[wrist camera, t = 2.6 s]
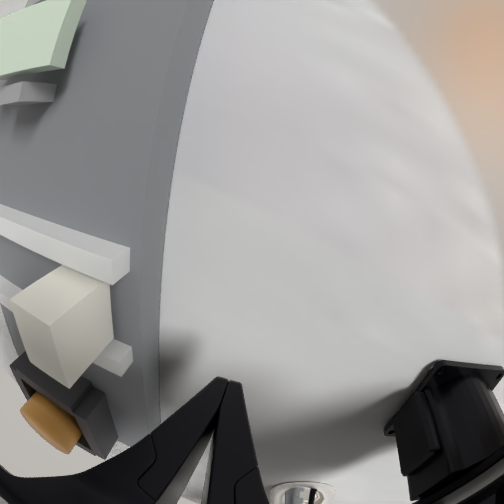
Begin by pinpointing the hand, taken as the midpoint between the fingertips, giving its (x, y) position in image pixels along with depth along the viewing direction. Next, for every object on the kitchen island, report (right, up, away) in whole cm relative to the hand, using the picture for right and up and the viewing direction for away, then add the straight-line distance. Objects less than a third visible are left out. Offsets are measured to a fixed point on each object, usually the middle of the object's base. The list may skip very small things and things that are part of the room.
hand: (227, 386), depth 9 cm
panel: (-10, +4, +5) cm, 12 cm away
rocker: (-8, +13, -3) cm, 15 cm away
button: (-13, -7, +5) cm, 15 cm away
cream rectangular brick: (-6, +2, +2) cm, 7 cm away
